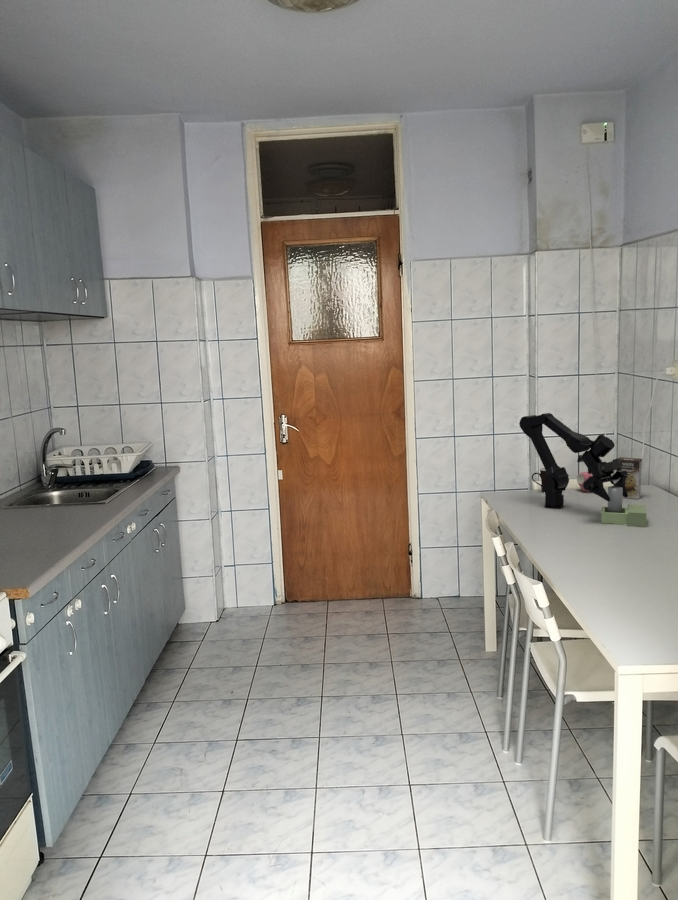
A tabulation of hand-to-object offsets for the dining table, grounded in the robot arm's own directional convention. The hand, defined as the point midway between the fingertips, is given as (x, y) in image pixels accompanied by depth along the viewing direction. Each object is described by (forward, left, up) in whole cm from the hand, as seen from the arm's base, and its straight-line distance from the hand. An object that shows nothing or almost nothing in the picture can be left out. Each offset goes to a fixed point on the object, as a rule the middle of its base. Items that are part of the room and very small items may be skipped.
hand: (618, 498), depth 268 cm
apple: (-12, +47, -9) cm, 49 cm away
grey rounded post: (-1, +1, -9) cm, 9 cm away
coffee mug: (-29, +43, -9) cm, 53 cm away
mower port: (+2, +1, -9) cm, 9 cm away
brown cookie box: (+4, +40, -9) cm, 41 cm away
